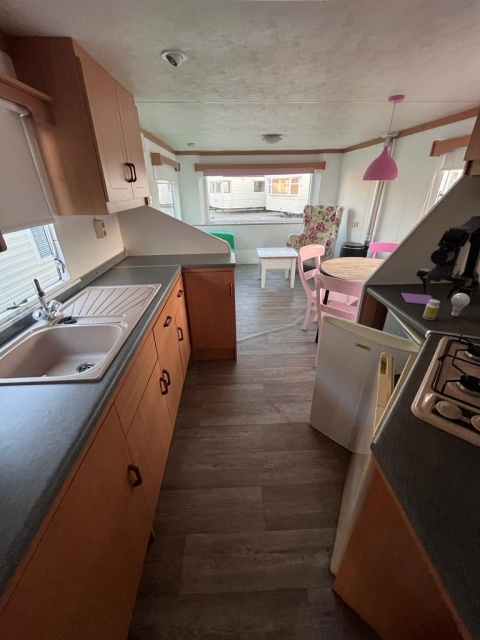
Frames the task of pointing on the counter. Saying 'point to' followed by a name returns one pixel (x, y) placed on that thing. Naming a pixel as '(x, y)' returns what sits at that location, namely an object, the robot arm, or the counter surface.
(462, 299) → the lightbulb
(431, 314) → the supplement bottle
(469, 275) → the robot arm
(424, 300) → the cloth
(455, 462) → the counter surface
